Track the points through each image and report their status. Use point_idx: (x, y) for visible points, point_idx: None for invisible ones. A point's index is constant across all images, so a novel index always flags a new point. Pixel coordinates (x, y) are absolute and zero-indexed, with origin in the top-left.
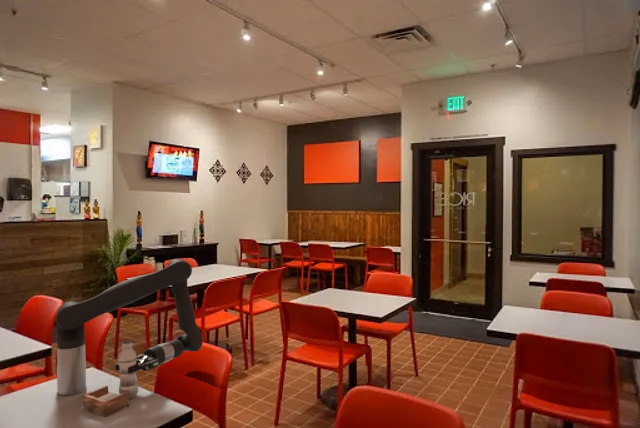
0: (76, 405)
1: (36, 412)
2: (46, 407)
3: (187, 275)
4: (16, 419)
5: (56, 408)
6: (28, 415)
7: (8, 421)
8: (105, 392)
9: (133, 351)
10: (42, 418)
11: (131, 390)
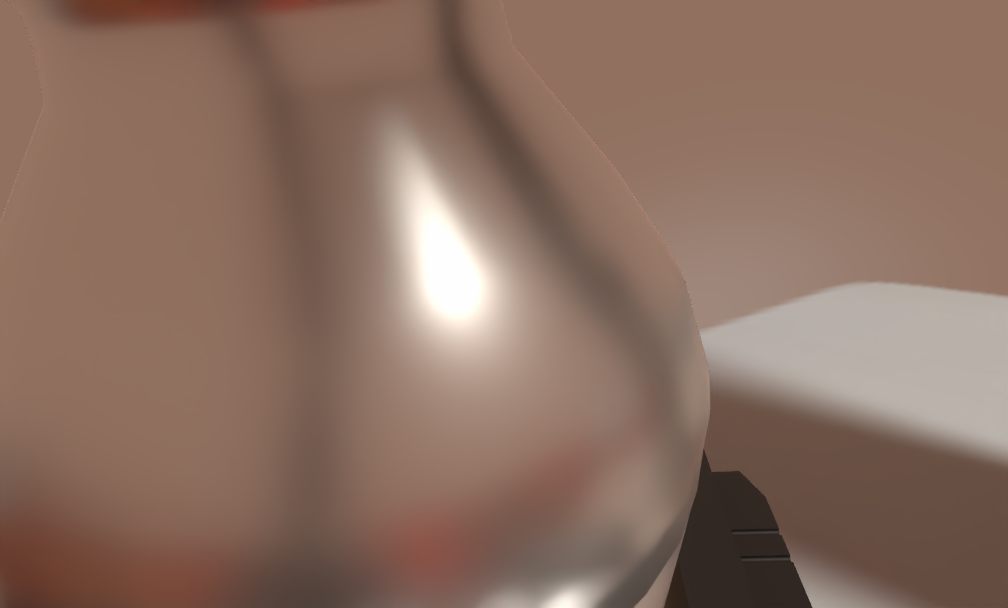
0: (812, 506)
1: (896, 357)
2: (955, 403)
3: None
4: (862, 300)
5: (872, 423)
6: (877, 331)
7: (864, 284)
8: None
9: (3, 216)
10: (755, 347)
11: None
